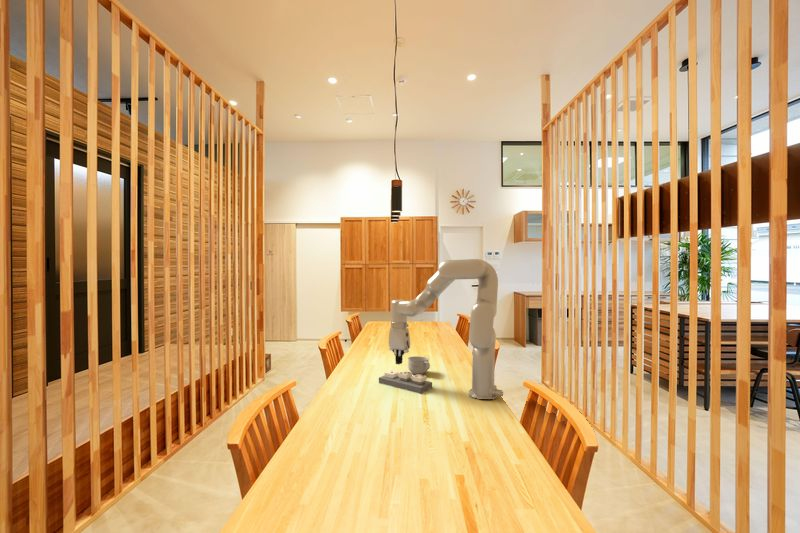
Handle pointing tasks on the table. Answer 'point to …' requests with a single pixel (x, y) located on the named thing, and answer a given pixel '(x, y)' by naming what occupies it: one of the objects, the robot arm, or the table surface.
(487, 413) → the table surface
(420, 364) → the teacup
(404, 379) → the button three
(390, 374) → the button one
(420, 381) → the button two
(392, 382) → the button panel
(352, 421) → the table surface
